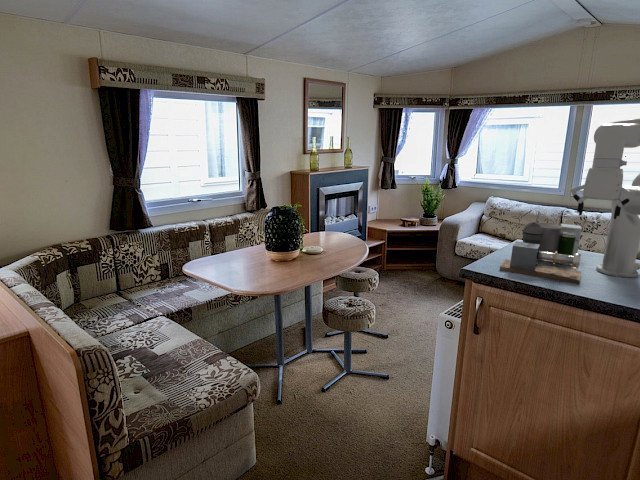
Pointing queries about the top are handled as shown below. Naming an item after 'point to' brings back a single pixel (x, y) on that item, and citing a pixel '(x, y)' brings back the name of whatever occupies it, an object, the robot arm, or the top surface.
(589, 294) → the top surface
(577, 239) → the supplement box
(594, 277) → the top surface
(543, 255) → the shaft
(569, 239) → the beer can
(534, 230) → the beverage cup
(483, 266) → the top surface
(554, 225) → the pillar candle
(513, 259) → the machine model
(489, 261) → the top surface
